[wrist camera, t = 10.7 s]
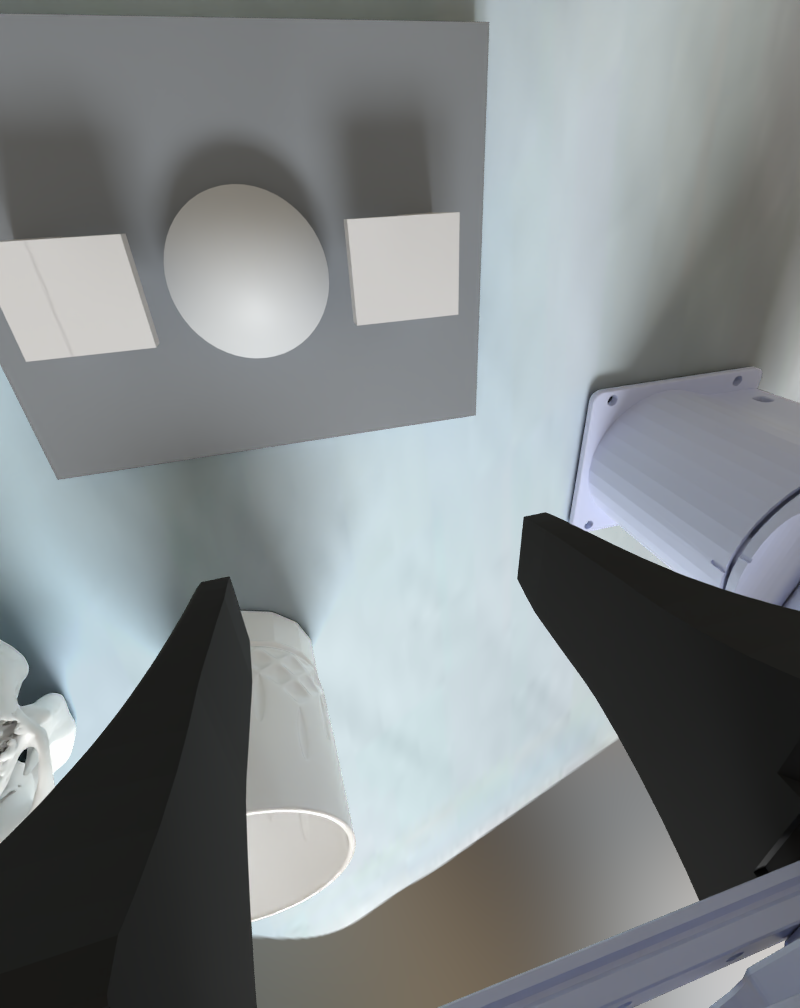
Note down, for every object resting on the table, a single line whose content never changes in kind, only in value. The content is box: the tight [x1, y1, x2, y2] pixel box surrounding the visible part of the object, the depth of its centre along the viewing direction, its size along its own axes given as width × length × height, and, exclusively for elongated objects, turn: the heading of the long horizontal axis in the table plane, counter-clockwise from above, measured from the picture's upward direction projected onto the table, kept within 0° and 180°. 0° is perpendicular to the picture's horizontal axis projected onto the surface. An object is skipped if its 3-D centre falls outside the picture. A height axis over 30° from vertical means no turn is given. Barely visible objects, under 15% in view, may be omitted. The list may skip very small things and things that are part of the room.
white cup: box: [241, 611, 356, 922], centre depth 21 cm, size 8×8×10 cm
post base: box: [0, 13, 489, 480], centre depth 15 cm, size 16×12×4 cm
